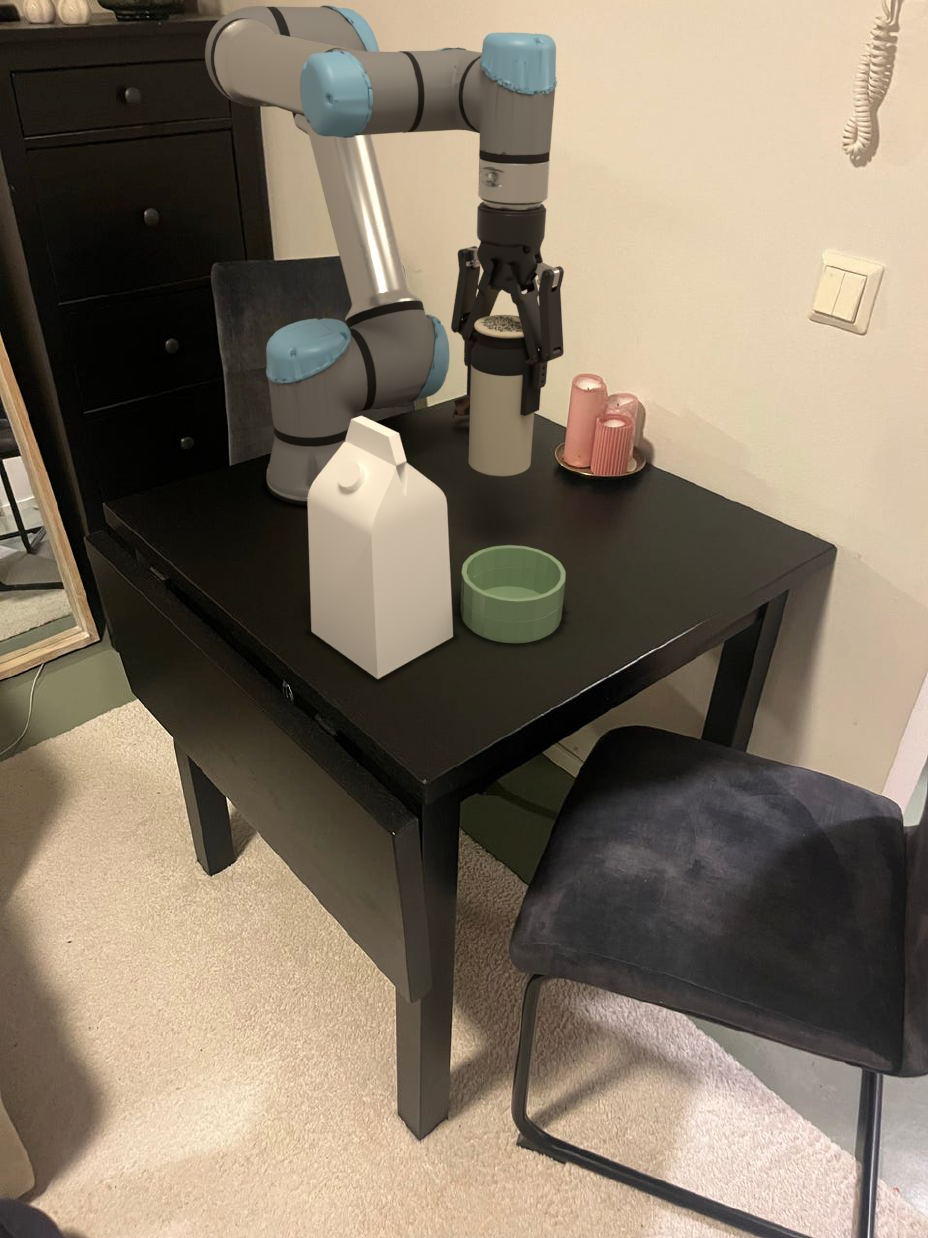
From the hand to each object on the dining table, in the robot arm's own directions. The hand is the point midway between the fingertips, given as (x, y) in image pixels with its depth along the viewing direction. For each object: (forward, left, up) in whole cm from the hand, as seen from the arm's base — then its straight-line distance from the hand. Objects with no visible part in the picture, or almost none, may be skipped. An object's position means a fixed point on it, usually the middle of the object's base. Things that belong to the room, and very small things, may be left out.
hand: (502, 402), depth 111 cm
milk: (+4, -25, -21) cm, 32 cm away
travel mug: (0, 0, -9) cm, 9 cm away
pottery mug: (-25, +27, -21) cm, 42 cm away
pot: (+12, -11, -20) cm, 26 cm away
